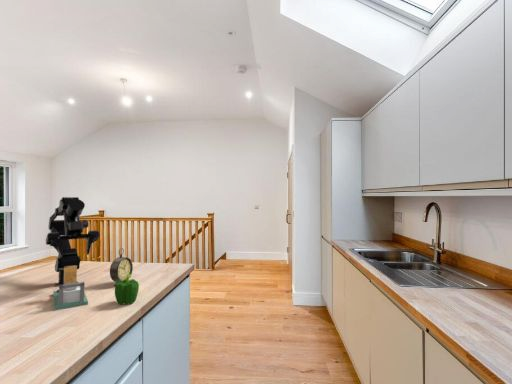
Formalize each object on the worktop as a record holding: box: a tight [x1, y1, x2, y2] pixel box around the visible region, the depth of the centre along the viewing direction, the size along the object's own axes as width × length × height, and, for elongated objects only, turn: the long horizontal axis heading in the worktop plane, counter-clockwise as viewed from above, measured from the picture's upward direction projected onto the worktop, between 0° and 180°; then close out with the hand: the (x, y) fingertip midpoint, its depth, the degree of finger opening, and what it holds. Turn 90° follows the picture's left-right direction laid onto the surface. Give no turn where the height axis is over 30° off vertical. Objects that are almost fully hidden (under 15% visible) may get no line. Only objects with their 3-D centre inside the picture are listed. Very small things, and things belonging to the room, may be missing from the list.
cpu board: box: [53, 281, 89, 311], centre depth 111 cm, size 20×10×8 cm, turn 36°
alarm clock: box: [109, 247, 134, 283], centre depth 132 cm, size 11×5×16 cm, turn 168°
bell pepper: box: [114, 274, 140, 305], centre depth 108 cm, size 8×8×10 cm
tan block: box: [63, 265, 78, 290], centre depth 109 cm, size 10×4×10 cm, turn 36°
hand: (75, 255), depth 119 cm, fingers open, 9 cm apart
